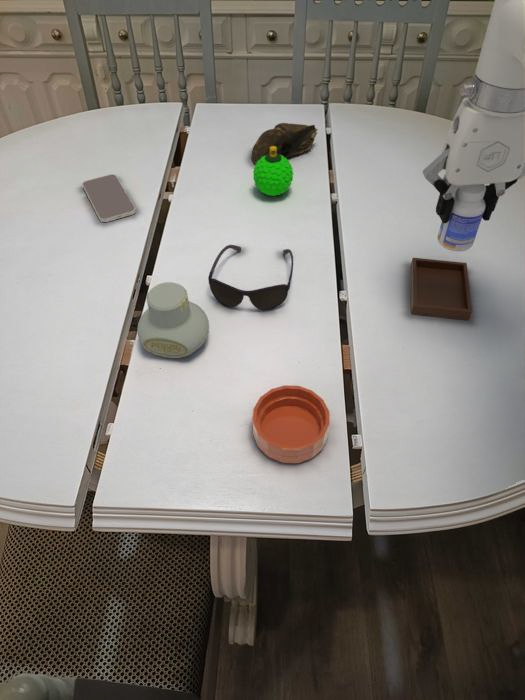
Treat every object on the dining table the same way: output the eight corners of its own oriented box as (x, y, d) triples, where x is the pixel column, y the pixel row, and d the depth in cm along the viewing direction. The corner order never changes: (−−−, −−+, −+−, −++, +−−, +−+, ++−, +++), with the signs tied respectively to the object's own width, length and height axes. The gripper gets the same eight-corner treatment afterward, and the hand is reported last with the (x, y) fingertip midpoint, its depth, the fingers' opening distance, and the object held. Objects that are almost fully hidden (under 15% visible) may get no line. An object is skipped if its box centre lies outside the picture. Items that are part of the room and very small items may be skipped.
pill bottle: (479, 247, 81) (500, 191, 74) (449, 256, 80) (467, 200, 73) (458, 227, 85) (476, 172, 77) (429, 236, 83) (444, 180, 76)
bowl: (337, 417, 74) (340, 400, 71) (310, 476, 68) (312, 461, 65) (272, 393, 77) (272, 376, 74) (241, 448, 71) (239, 432, 68)
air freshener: (134, 356, 82) (120, 310, 74) (151, 318, 87) (139, 271, 80) (203, 365, 81) (195, 319, 73) (215, 326, 86) (210, 279, 78)
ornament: (254, 204, 108) (252, 159, 100) (253, 182, 113) (251, 137, 106) (294, 203, 108) (295, 157, 100) (291, 181, 113) (292, 136, 106)
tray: (468, 320, 86) (472, 311, 84) (410, 314, 87) (413, 305, 86) (463, 271, 94) (466, 262, 92) (410, 266, 95) (412, 257, 93)
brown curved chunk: (263, 170, 115) (258, 138, 111) (243, 162, 122) (238, 130, 118) (325, 148, 121) (322, 116, 116) (302, 141, 127) (299, 110, 123)
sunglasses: (206, 307, 89) (203, 285, 85) (224, 248, 99) (222, 226, 95) (287, 315, 87) (288, 292, 84) (296, 254, 97) (297, 231, 94)
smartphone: (100, 220, 104) (80, 182, 112) (101, 224, 104) (82, 186, 113) (136, 209, 106) (114, 173, 114) (137, 213, 106) (115, 177, 115)
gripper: (443, 109, 62) (412, 235, 76) (585, 101, 63) (529, 228, 77) (424, 82, 67) (399, 205, 81) (556, 75, 68) (509, 198, 82)
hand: (462, 215), depth 79 cm, fingers closed on pill bottle, 5 cm apart
